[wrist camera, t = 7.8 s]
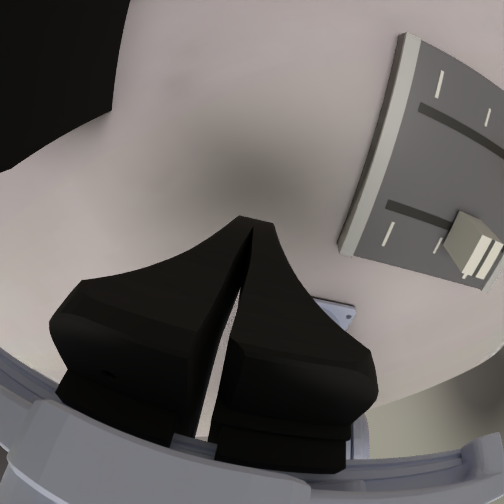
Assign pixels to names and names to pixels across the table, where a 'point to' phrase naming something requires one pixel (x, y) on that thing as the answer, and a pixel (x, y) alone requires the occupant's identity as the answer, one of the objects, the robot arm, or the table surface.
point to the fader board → (430, 165)
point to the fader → (472, 245)
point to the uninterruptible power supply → (54, 69)
